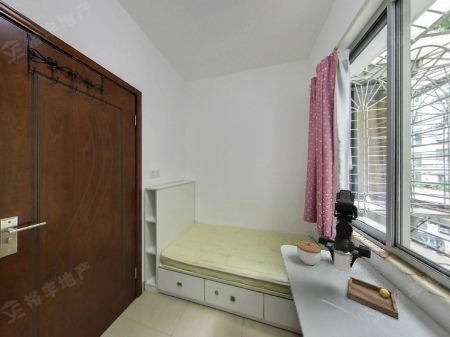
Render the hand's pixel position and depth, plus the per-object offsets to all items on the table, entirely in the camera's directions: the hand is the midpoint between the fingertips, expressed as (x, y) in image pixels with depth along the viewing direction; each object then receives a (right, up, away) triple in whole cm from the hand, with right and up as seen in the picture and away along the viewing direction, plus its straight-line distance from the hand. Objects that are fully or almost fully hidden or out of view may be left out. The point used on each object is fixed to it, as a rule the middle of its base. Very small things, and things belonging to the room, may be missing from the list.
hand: (341, 264), depth 74 cm
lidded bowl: (-4, -11, +22) cm, 25 cm away
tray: (+9, -12, -4) cm, 15 cm away
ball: (+15, -12, -4) cm, 20 cm away
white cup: (0, -2, 0) cm, 2 cm away
